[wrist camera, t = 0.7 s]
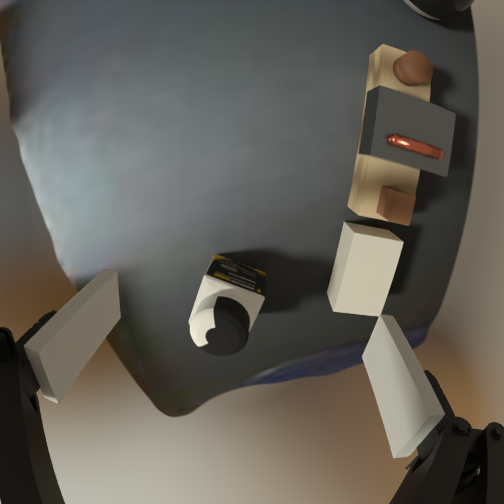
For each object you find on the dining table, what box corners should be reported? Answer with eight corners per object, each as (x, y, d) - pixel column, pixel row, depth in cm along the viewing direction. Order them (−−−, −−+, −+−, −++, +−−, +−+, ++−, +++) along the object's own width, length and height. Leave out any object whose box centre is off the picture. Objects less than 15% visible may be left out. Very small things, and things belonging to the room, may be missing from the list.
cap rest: (344, 221, 36) (354, 232, 32) (388, 230, 36) (403, 241, 31) (326, 292, 40) (333, 311, 35) (369, 298, 40) (379, 316, 35)
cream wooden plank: (369, 55, 29) (395, 32, 20) (414, 70, 29) (448, 55, 20) (347, 206, 36) (369, 224, 27) (392, 215, 35) (423, 235, 27)
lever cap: (367, 91, 26) (384, 82, 21) (437, 115, 26) (461, 112, 21) (358, 153, 29) (374, 155, 24) (429, 173, 28) (452, 179, 24)
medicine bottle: (266, 272, 39) (264, 322, 28) (247, 315, 42) (239, 372, 30) (215, 252, 39) (193, 296, 27) (199, 297, 41) (176, 349, 30)
